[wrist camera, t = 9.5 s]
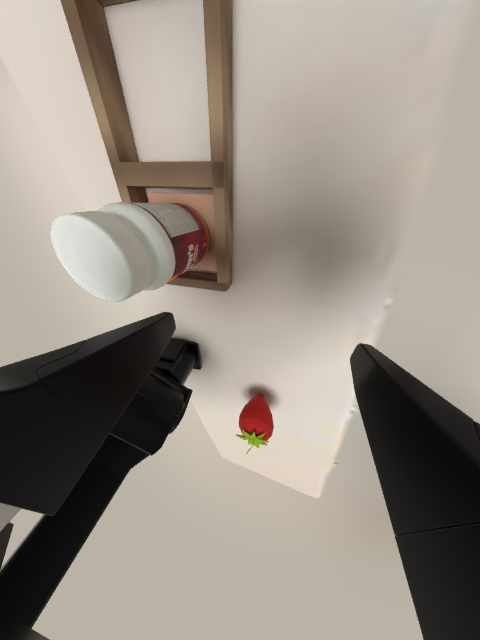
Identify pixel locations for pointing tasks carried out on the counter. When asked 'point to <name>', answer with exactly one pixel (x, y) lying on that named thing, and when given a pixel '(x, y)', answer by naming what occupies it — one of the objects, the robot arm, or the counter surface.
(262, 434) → the strawberry
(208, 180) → the caddy
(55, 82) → the counter surface
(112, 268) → the pill bottle
